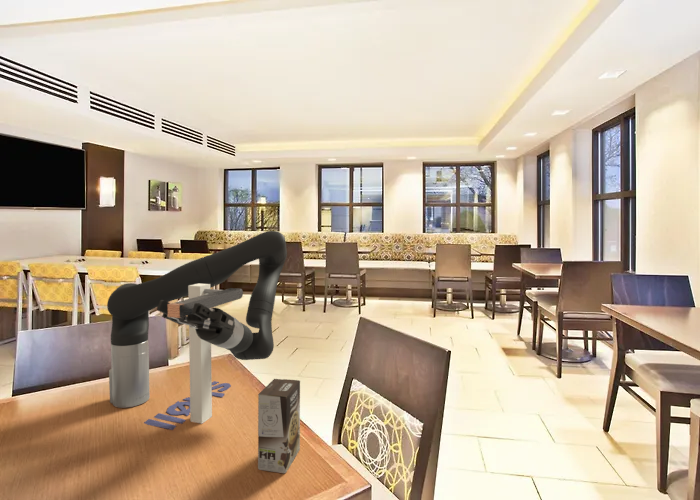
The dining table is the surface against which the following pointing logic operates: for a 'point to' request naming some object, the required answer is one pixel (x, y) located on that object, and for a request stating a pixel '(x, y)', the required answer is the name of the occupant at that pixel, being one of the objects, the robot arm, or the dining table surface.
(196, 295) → the stand
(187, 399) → the signage
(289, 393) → the coffee box
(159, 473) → the dining table surface
